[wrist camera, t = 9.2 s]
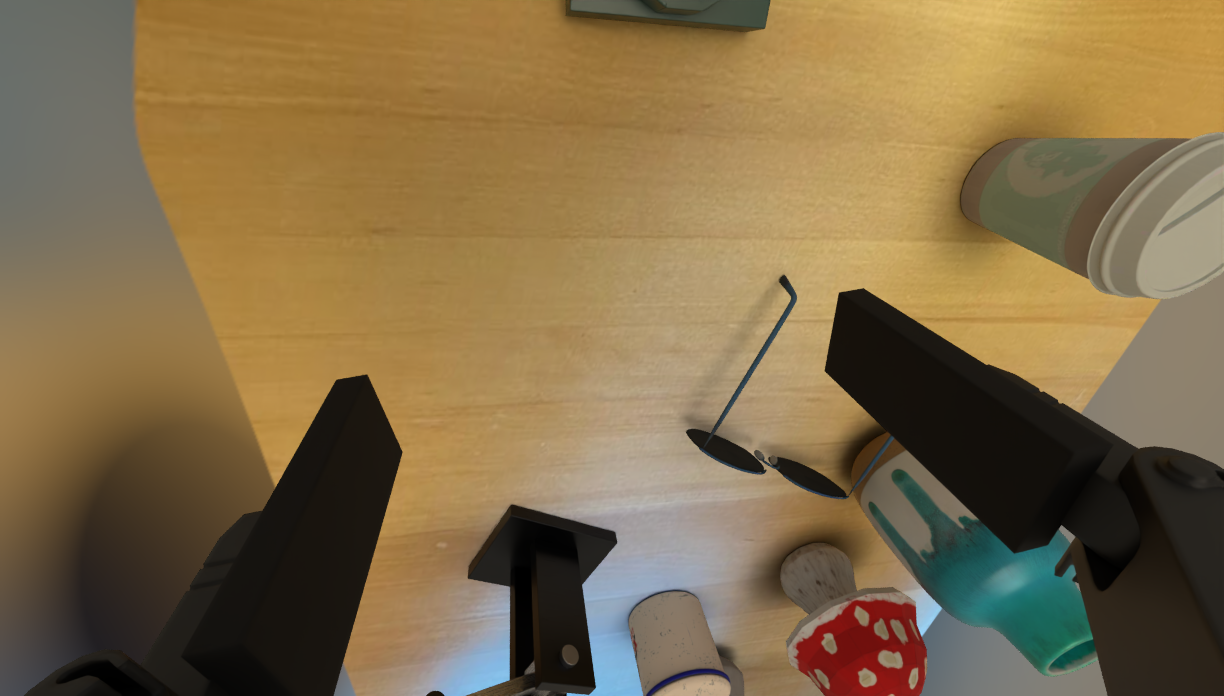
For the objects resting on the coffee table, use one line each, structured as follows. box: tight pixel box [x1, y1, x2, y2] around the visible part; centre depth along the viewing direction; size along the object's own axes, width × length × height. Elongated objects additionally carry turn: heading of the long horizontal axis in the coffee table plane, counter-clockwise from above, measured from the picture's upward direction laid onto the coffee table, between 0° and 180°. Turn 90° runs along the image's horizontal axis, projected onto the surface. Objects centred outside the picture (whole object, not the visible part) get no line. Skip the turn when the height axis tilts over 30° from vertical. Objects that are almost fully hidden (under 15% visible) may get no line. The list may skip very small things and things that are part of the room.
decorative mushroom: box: [780, 543, 927, 696], centre depth 47 cm, size 14×14×15 cm
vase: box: [851, 432, 1098, 676], centre depth 38 cm, size 11×11×19 cm
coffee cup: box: [961, 132, 1224, 299], centre depth 28 cm, size 8×9×12 cm
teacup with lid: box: [629, 591, 731, 696], centre depth 50 cm, size 12×9×12 cm
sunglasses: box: [686, 275, 894, 499], centre depth 38 cm, size 17×15×5 cm
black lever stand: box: [468, 505, 617, 696], centre depth 39 cm, size 11×9×13 cm
